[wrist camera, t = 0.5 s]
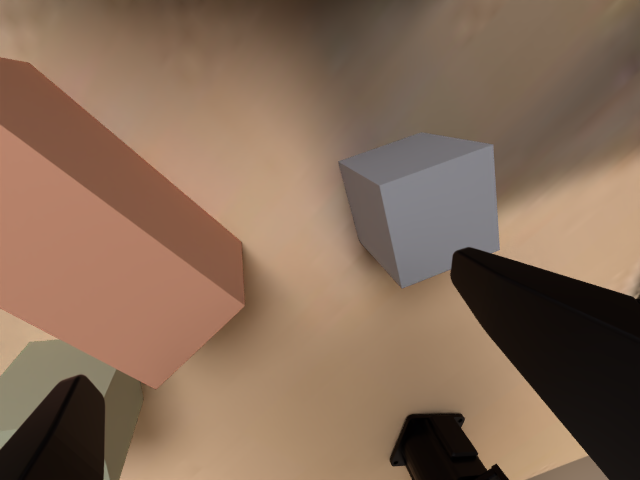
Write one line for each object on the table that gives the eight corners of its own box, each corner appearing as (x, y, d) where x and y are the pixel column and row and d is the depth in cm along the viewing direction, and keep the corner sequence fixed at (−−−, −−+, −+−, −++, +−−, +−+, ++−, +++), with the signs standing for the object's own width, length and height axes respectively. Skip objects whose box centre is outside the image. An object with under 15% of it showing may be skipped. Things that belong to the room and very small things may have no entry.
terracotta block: (241, 241, 23) (244, 305, 16) (179, 300, 23) (156, 389, 16) (30, 62, 17) (-121, 34, 10) (-46, 148, 17) (-242, 182, 10)
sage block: (143, 398, 26) (114, 496, 19) (51, 410, 24) (-14, 520, 18) (132, 332, 23) (94, 418, 17) (29, 341, 22) (-53, 438, 16)
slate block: (433, 212, 25) (499, 249, 19) (359, 240, 25) (401, 288, 18) (421, 132, 23) (493, 144, 16) (337, 161, 22) (379, 185, 16)
